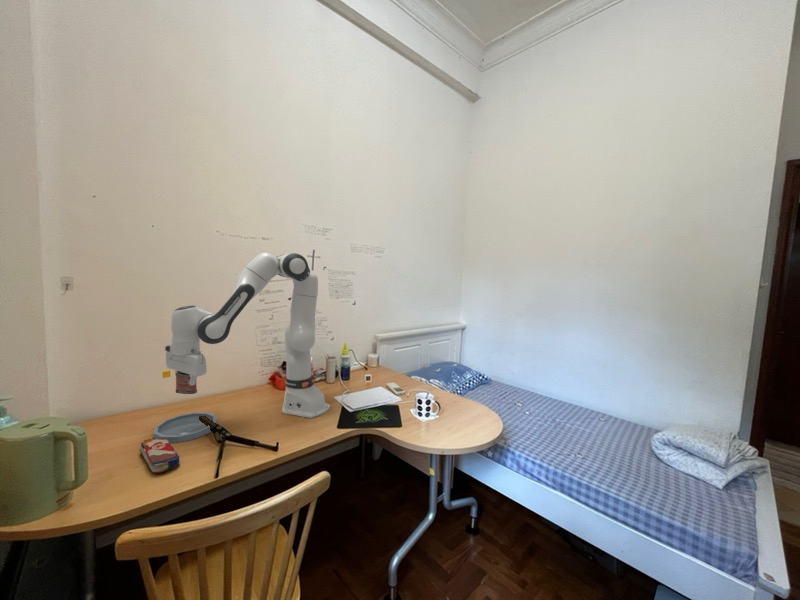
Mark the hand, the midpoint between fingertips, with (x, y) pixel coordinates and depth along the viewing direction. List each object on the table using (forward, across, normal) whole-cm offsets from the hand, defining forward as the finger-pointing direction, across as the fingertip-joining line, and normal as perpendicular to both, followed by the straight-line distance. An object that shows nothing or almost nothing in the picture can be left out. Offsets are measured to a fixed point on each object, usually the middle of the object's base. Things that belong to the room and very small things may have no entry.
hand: (186, 383), depth 119 cm
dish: (+18, 0, 0) cm, 19 cm away
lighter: (+4, 0, 0) cm, 4 cm away
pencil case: (+19, -13, +16) cm, 28 cm away
